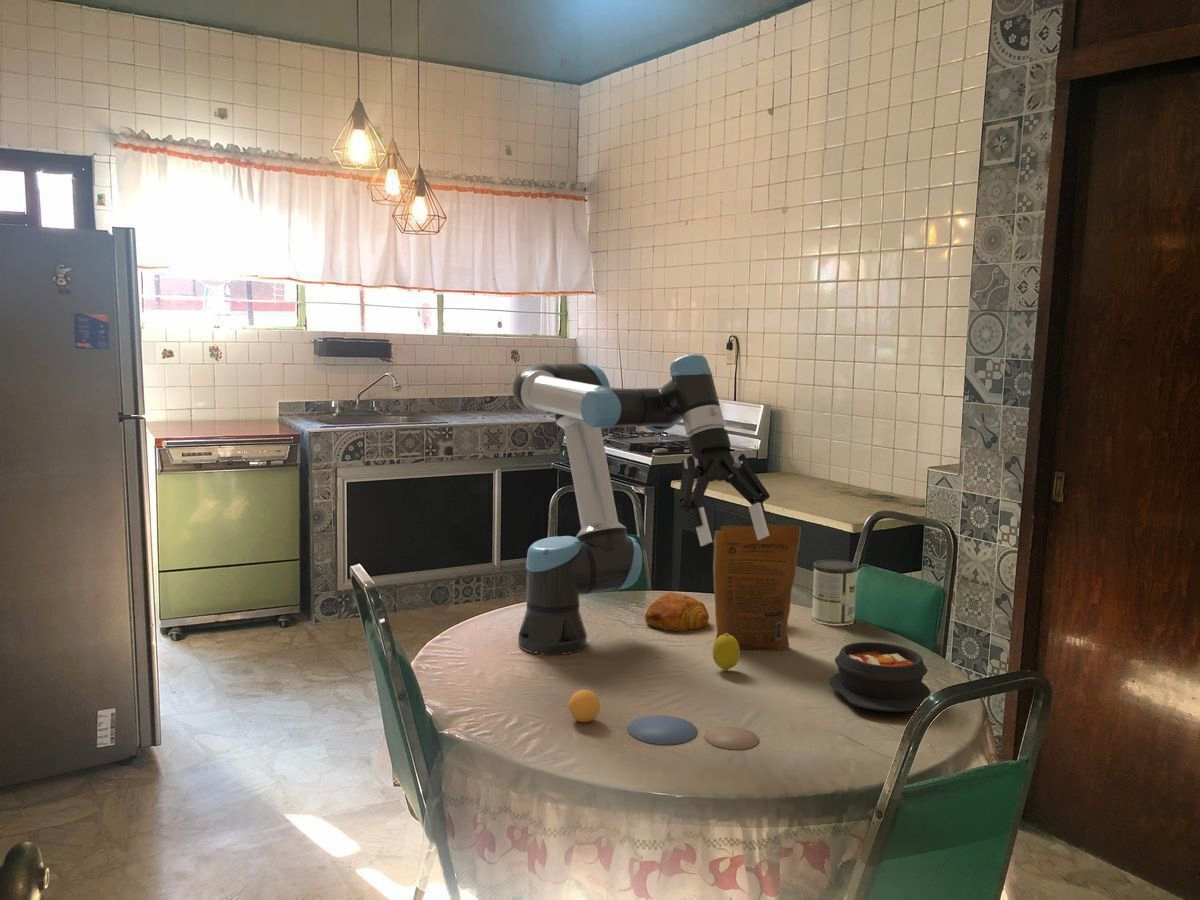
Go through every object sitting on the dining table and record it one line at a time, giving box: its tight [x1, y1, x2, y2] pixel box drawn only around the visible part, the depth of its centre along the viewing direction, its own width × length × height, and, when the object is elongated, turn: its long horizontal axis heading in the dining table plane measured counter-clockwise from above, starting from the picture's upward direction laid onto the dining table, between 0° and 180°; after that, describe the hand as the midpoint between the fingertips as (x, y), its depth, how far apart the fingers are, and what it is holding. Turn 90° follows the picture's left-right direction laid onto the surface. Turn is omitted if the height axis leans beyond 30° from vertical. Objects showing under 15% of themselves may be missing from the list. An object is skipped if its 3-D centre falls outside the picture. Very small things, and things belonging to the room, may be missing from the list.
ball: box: [568, 689, 601, 723], centre depth 164 cm, size 6×6×6 cm
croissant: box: [644, 592, 710, 632], centre depth 223 cm, size 14×16×8 cm
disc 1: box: [627, 714, 698, 746], centre depth 161 cm, size 12×12×1 cm
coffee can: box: [811, 559, 858, 624], centre depth 227 cm, size 10×10×14 cm
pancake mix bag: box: [712, 524, 802, 651], centre depth 205 cm, size 7×19×28 cm, turn 87°
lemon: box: [712, 633, 741, 672], centre depth 190 cm, size 6×6×8 cm
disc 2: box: [704, 726, 760, 751], centre depth 158 cm, size 9×9×1 cm
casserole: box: [829, 641, 932, 713], centre depth 178 cm, size 25×19×8 cm
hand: (735, 541), depth 170 cm, fingers open, 13 cm apart
